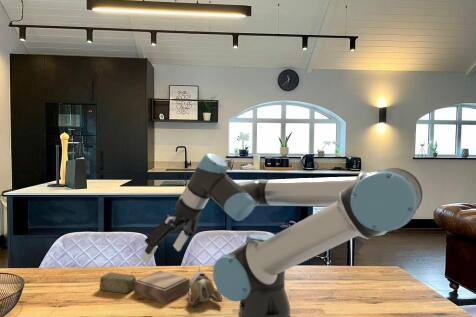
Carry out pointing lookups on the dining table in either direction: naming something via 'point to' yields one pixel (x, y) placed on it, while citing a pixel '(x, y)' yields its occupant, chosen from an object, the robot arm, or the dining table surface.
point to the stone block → (117, 282)
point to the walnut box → (161, 286)
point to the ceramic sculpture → (202, 289)
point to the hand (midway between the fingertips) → (161, 253)
